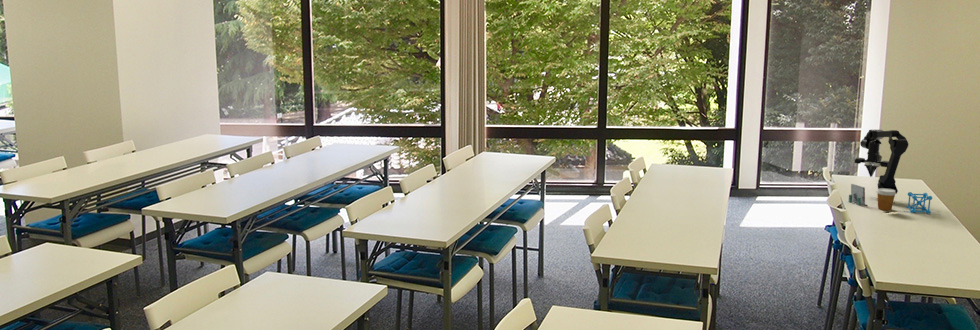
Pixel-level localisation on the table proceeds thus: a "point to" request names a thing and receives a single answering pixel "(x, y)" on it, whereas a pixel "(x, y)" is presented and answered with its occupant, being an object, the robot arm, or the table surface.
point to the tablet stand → (857, 200)
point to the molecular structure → (919, 202)
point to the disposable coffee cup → (885, 199)
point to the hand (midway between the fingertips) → (871, 176)
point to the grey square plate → (858, 193)
